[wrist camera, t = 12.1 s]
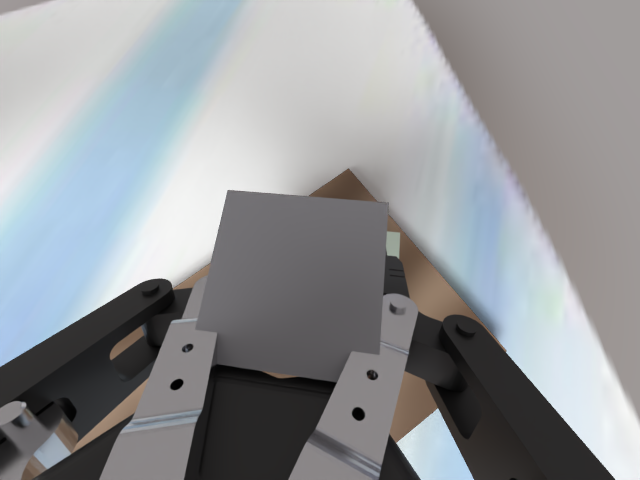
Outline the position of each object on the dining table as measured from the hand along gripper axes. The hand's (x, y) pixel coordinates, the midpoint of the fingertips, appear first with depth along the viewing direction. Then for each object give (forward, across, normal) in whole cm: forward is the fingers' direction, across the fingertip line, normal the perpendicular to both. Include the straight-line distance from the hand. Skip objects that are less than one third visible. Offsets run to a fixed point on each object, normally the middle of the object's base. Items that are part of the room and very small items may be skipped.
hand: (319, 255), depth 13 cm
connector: (+2, 0, +4) cm, 5 cm away
